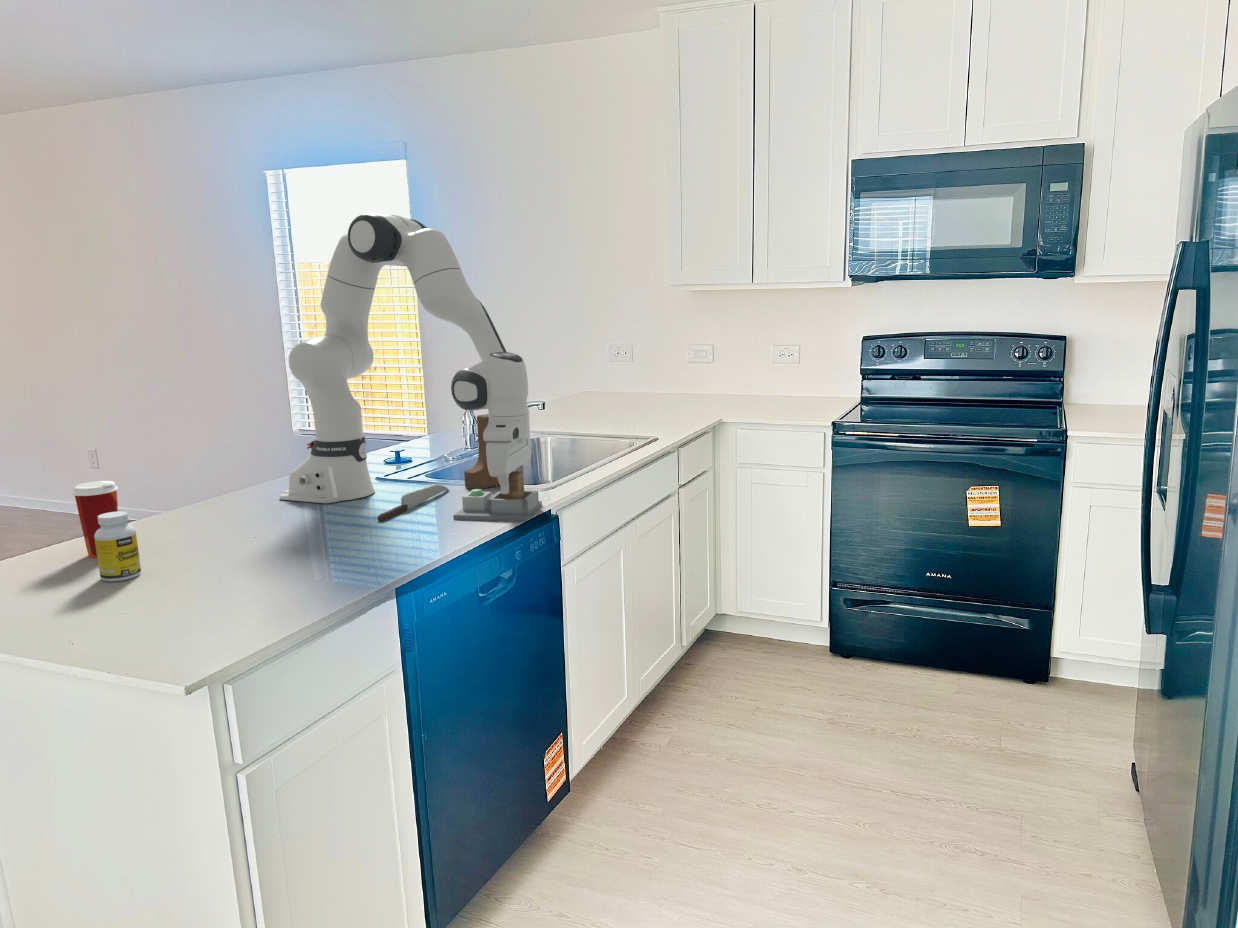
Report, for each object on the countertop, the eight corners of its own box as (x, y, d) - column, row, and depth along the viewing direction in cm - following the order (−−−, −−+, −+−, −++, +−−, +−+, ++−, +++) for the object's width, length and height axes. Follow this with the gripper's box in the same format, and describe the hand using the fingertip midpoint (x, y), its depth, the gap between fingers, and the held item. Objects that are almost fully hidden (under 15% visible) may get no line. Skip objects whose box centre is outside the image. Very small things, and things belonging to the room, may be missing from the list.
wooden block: (473, 490, 217) (469, 419, 213) (464, 487, 220) (460, 417, 217) (504, 484, 222) (500, 415, 219) (495, 482, 226) (491, 413, 222)
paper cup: (136, 549, 174) (126, 481, 171) (102, 561, 167) (91, 489, 164) (106, 546, 177) (96, 479, 174) (72, 557, 169) (61, 487, 167)
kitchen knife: (381, 507, 189) (449, 474, 217) (376, 507, 190) (445, 474, 217) (382, 526, 190) (451, 491, 218) (378, 525, 191) (447, 490, 218)
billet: (502, 510, 194) (500, 475, 192) (507, 505, 197) (506, 471, 196) (519, 510, 193) (517, 475, 191) (524, 506, 197) (523, 471, 195)
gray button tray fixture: (453, 519, 191) (452, 501, 190) (476, 503, 204) (475, 486, 203) (523, 521, 188) (522, 503, 187) (541, 505, 201) (541, 488, 200)
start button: (469, 504, 196) (468, 491, 195) (473, 501, 198) (473, 489, 197) (480, 505, 195) (480, 491, 194) (484, 502, 198) (484, 489, 197)
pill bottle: (113, 585, 153) (103, 521, 151) (93, 579, 156) (83, 516, 154) (149, 574, 158) (140, 512, 156) (129, 568, 162) (120, 508, 160)
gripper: (510, 419, 202) (513, 477, 205) (479, 434, 182) (483, 498, 185) (536, 419, 201) (539, 478, 204) (508, 435, 181) (511, 499, 184)
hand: (512, 488), depth 194 cm, fingers open, 8 cm apart
